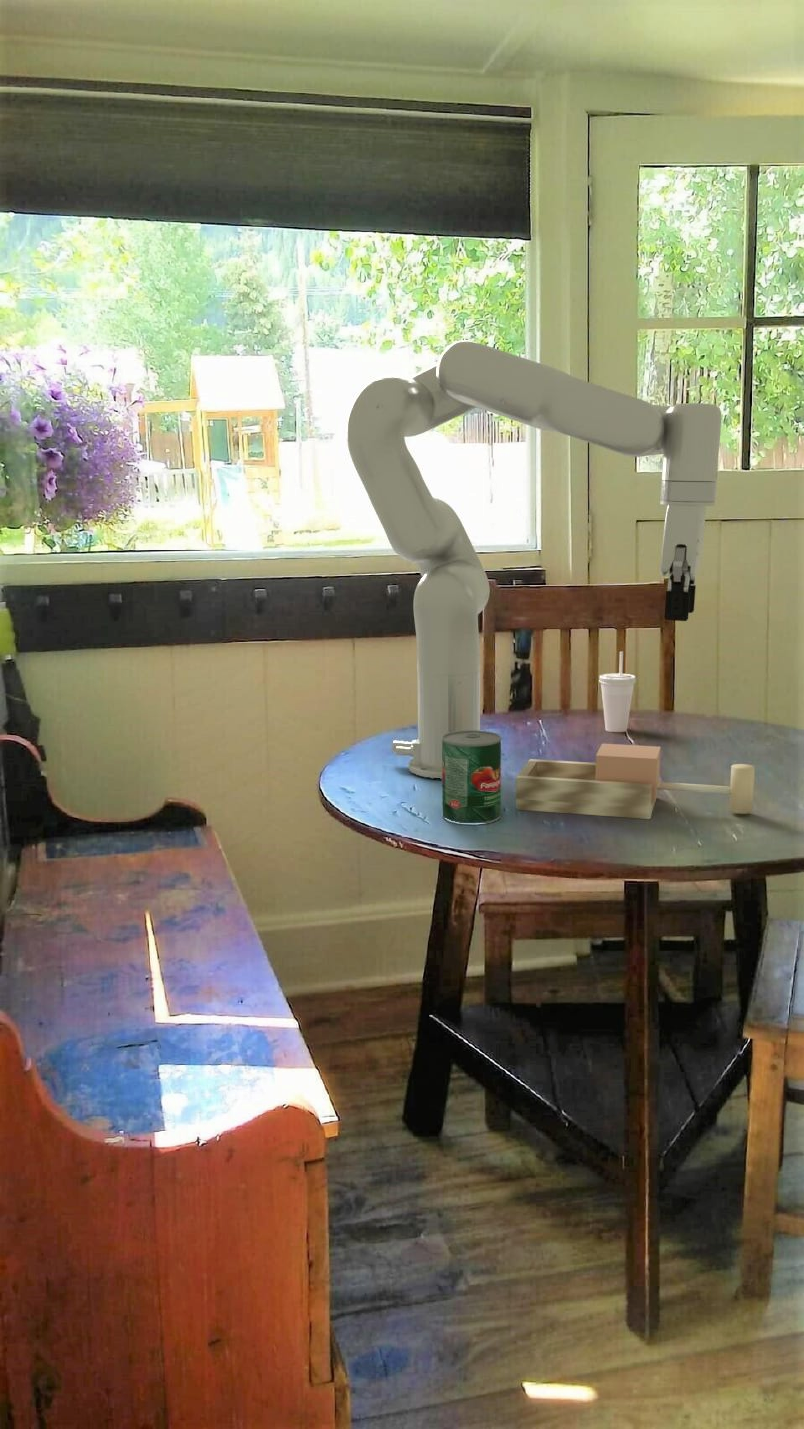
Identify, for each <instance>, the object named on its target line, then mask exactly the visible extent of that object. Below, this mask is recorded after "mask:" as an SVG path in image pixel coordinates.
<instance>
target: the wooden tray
mask: <svg viewBox="0 0 804 1429" xmlns="http://www.w3.org/2000/svg"><path fill="white" fill-rule="evenodd" d="M595 773H596V762H587V761H585V762H584V761H571V760H570V761H569V760H555V759H554V760H552V759H551V760H550V759H538V758H537V759H535V758H530V759H529V760H528V761H527V763H526V764H525V765H524V767H523V768H522V769H521V770H520V772H519V774H518V775H517V776H516V779H515V781H516V782H515V785H516V786H515V787H516V788H515V810H518V811H533V812H544V813H545V812H547V813H560V814H575V815H588V816H600V817H601V816H602V817H615V818H616V817H617V818H627V819H628V818H629V819H631V818H632V819H643V820H644V819H645V820H650V819H651V818H652V815H653V811H654V807H655V803H656V802H651V801H652V784H645V783H629V782H614V781H598V780H595Z"/></svg>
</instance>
